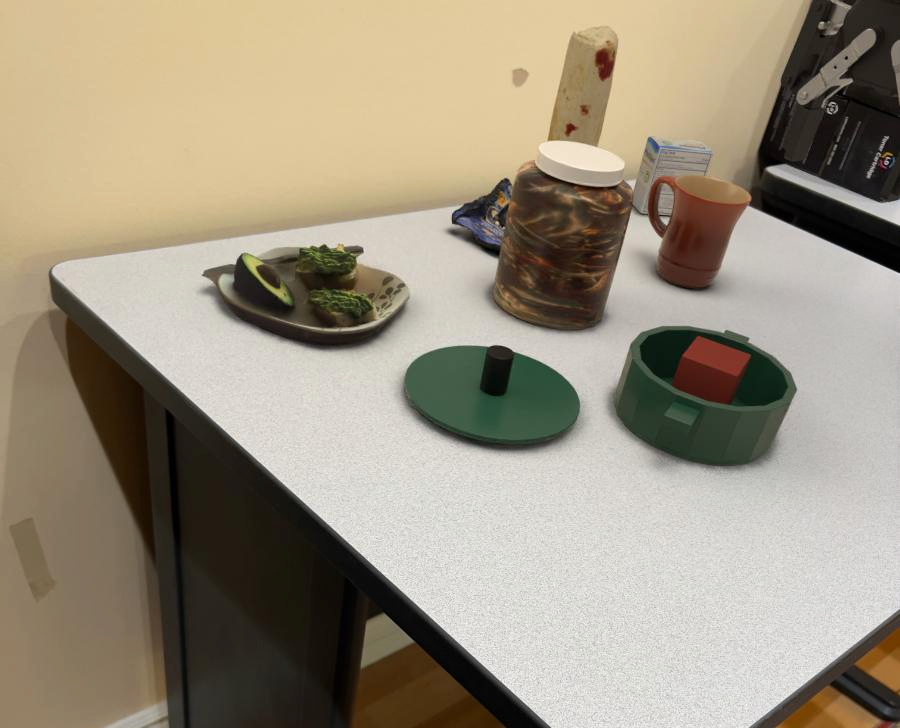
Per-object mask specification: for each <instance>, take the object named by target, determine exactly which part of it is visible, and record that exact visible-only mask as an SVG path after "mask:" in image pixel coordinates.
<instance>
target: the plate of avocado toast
mask: <svg viewBox="0 0 900 728" xmlns="http://www.w3.org/2000/svg"><path fill="white" fill-rule="evenodd" d="M336 245H337V246H336V247H331V248H330V247H329V246H328V244H326V243H322V244H321V245H320V246H317V245H316V246H315V245H311V246H310V247H306V246H279V247H273V248H271V249H269V250H267V251H265V252H262V253H261V254H259V255H257V256H255V255H253V254H251V253H248V252H243V253H240V255H239V256H238V257H237V258H236V262H235V264H233V263H228V264H223V265H220V266H216V267H210V268H207V269H205V270H203V272H202V274H201V277H203V278H206V279H208V280H210V281H211V282H212V283H213V284H214V285H215V286H216V288H217V291H218V293H219V295H220V297H221V298H222V299H223V301H224V303H225V304H226V305H227V306H228V308H229V309H230V310H231V312H232V313H233V314H234V315H235V316H237V317H238V318H239V319H241V320H242V321H245V322H247V323H249V324H252V325H254V326H257V327H258V328H261V329H264V330H266V331H268V332H271V333H274V334H276V335H278V336H280V337H284V338H287V339H290V340H294V341H298V342H302V343H306V344H314V345H321V346H331V347H332V346H334V347H335V346H344V345H349V344H352V343H355V342H358V341H360V340H362V339H364V338H367V337H369V336H371V335H373V334H375V333H377V332H379V331H380V330H382V329H383V328H384V326H385V324H386V322H388V321H389V320H390V319H392V318H393V317H394V316H396V315H397V313H398V312H399V311H400V310H401V309H402V307H403V306H404V305H405V303H407V301H409V299H410V297H411V291H410V287H409V285H408V284H407V283H406V282H405V281H404V280H403V279H402V277H400V276H398V275H396V274H394V273H391V272H389V271H385V270H382V269H378V268H374V267H371V266H368V265H364V264H361V263H359V262H358V260H357V258H358V257H360V256H362V255H363V254H364V252H365V251H364V247H363V246H361V245H357V244H356V245H347V246H345V245H344V244H342V243H338V244H336Z"/></svg>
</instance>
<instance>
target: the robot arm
mask: <svg viewBox="0 0 900 728" xmlns="http://www.w3.org/2000/svg"><path fill="white" fill-rule="evenodd" d="M841 28H842V31H843V39H844V49H842V50H841V51H840V52H839V53H837V54H836V55H835V56H834V57H833V58H832V59H830V61H828V62H827V63H826V64H825V65H824V66H822V67H821V68H820V69H819V71H818V73H817V74H816V72H817V70H818V68H819V65H820V62H821V60H822V58H823V56H824V54H825V51H826V49H827V47H828V45H829V42H830V40H831V38H832V36H835V35H836V34H837V33H839V30H840V29H841ZM815 74H816V75H815ZM850 84H852V85H855V86H858V87H860V88H872V89H874V90H875V91H876V92H878V93H879V94H880V95H883V96H884V97H885V96H886V97H887V98H898V104H899V105H900V0H856V1H855V2H854V4H853V5H850V4H847V3H845V2H844V0H812V2H811V3H810V6H809V9H808V11H807V14H806V16H805V17H804V21H803V23H802V25H801V27H800V31H799V33H798V35H797V37H796V41H795V43H794V45H793V48H792V49H791V52H790V55H789V57H788V60H787V62H786V65H785V66H784V69H783V72H782V74H781V78H780V85H781V87H782V88H784V89H788V90H789V91H790V92H791V94H793V95H794V96H795V99H796V107H795V109H794V112H793V115H792V118H791V120H790V123H789V125H788V128H787V130H786V133H785V135H784V138H783V147H782V148H783V150H784V154H783V158H784V159H785V160H788V161H790V162H800V161H803V160H804V159H806V157H807V155H808V153H809V151H810V148H811V147H812V145H813V141H814V138H815V137H816V133H817V131H818V128H819V126H820V123H821V121H822V118H823V116H824V114H825V111H826V108H825V107H823V103H825V102H826V101H827V100H829V99H830V98H831V97H833V96H834V95H835V94H836V93H838V91H840V90H841V89H842V88H844V87H846V86H848V85H850ZM878 197H879V199H881V200H883V201H885V202H887V203H892V202H895V201H898V200H900V151H898V154H897V156H896V159H895V160H894V163H893V164H892V167H891V169H890V172H889V173H888V175H887V178H886V180H885V182H884V184H883V186H882V188H881V191H880V194H879V196H878Z"/></svg>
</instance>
